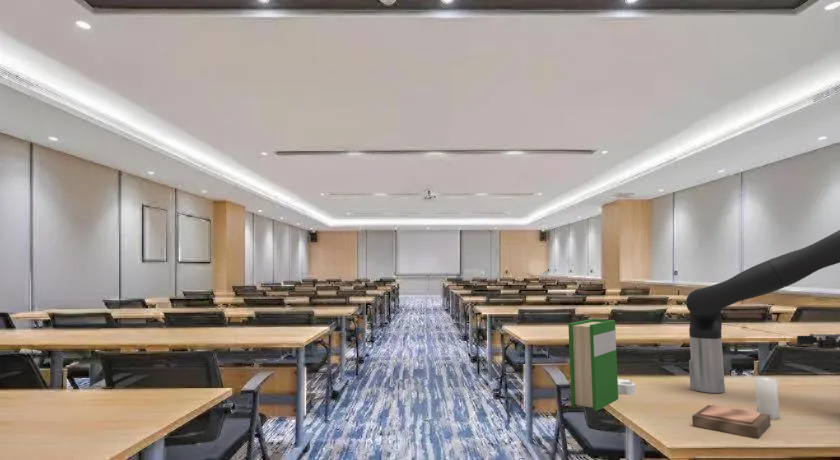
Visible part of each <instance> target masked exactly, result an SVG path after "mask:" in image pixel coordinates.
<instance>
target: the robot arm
mask: <svg viewBox="0 0 840 460" xmlns="http://www.w3.org/2000/svg"><path fill="white" fill-rule="evenodd" d="M837 264H840V229H839V230H837V231H835V232H833V233H831V234H830V235H827V236H826V237H824V238H821V239H819V240H817V241H816V242H814V243H812V244H810V245H807V246H805V247H803V248H800V249H795V250H793V251H789V252H786V253H785V254H781V255H778V256H776V257H773V258H770V259H768V260H767V259H766V260H765V261H763V262H759V263H758V264H756V265H754V266H751V267H749V268H747V269H745V270H743V271H741V272H739V273H737V274H736V275H734V276H732V277H730V278H728V279H726V280H724V281H721V282H719V283H716V284H713V285H712V284H711V285H709V286H706V287H703V288H697V289H694V290H692V291H691V292H689V293H688V295H687V297H686V300H685V305H686V308H687V310H688V311H689V320H690V321H689V327H688V328H689V329H688V331H689V334H688V335H689V347H690V348H689V349H690V350H689V351H690V359H689V360H688V364H689V365H688V366H689V367H688V368H689V384H690V386H689V387H690V388H689V389H690V390H692V391H697V392H701V393H710V394H722V393H725V391H726V390H725V389H726V386H725V385H726V384H725V371H724V356H723V341H722V340H723V339H722V327H723V326H722V310H723V309H725V308H726V307H729V306H731V305H733V304H736V303H738V302H742V301H745V300H750V299H754V298H757V297H761V296H764V295H768V294H771V293H774V292H776V291H779V290H782V289H784V288H787V287H789V286H791V285H793V284H796V283H798V282H799V281H800V282H801V280H803V279H805V278H806V277H809V276H810V275H812V274H813V273H816V272H817V271H819V270H822V269H824V268H827V267H831V266H835V265H837ZM796 342H797V344H800V345H814V346H815V345H817V348H818V349H822V350H823V349H824V350H825V349H827V350H828V349H829V350H830V349H835V350H838V351H840V333H835V334H832V333H821V334H819V333H818V334H814V333H810V334H809V335H797V336H796Z"/></svg>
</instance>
